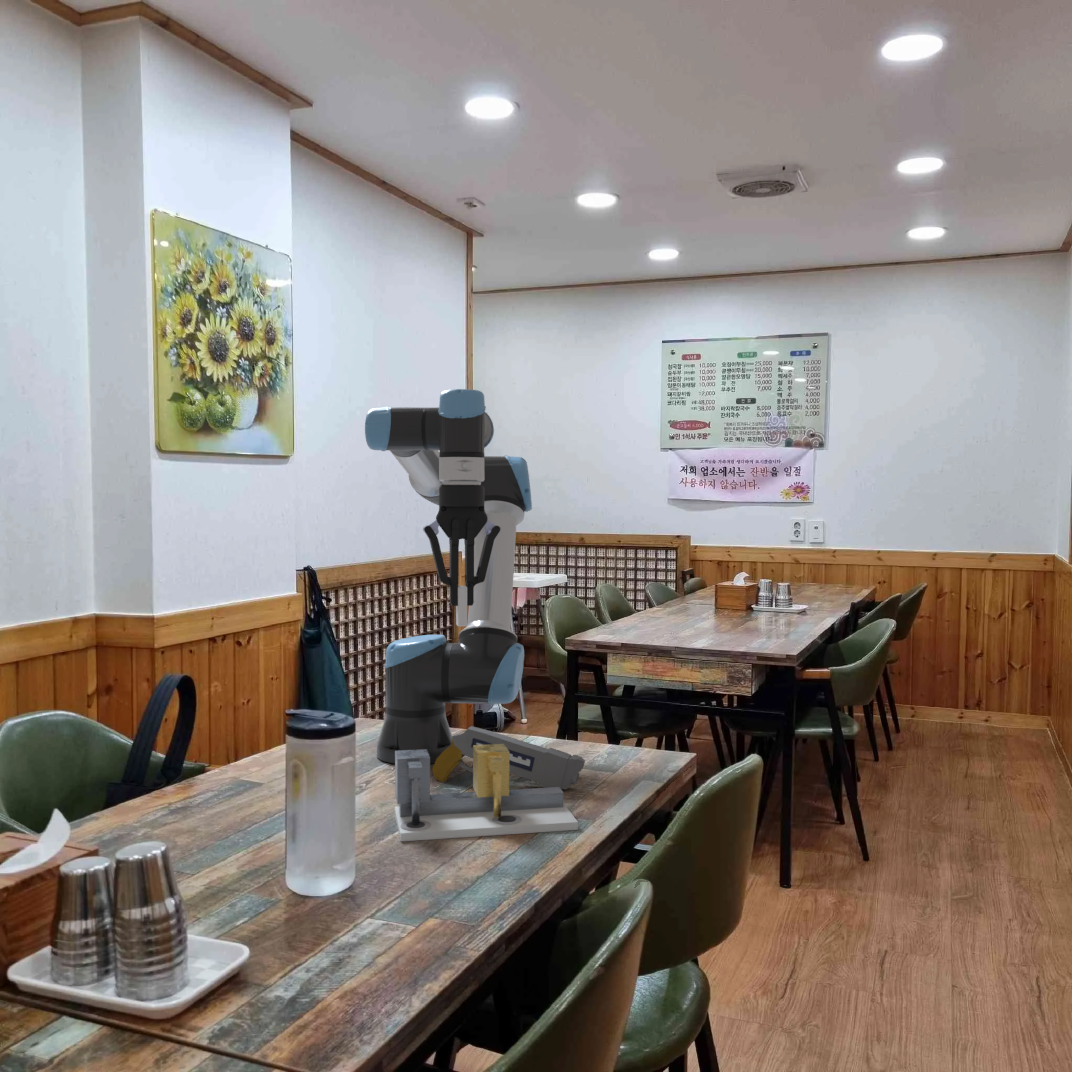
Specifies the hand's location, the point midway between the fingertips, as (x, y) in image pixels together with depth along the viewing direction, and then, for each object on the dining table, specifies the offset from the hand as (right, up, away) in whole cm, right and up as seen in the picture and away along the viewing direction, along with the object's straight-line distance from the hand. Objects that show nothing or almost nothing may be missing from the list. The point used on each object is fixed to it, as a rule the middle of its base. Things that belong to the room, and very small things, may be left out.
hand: (461, 625), depth 168 cm
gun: (+7, -29, +10) cm, 32 cm away
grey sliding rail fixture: (+4, -29, -10) cm, 31 cm away
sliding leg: (+6, -28, -9) cm, 30 cm away
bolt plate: (+4, -30, -10) cm, 32 cm away
